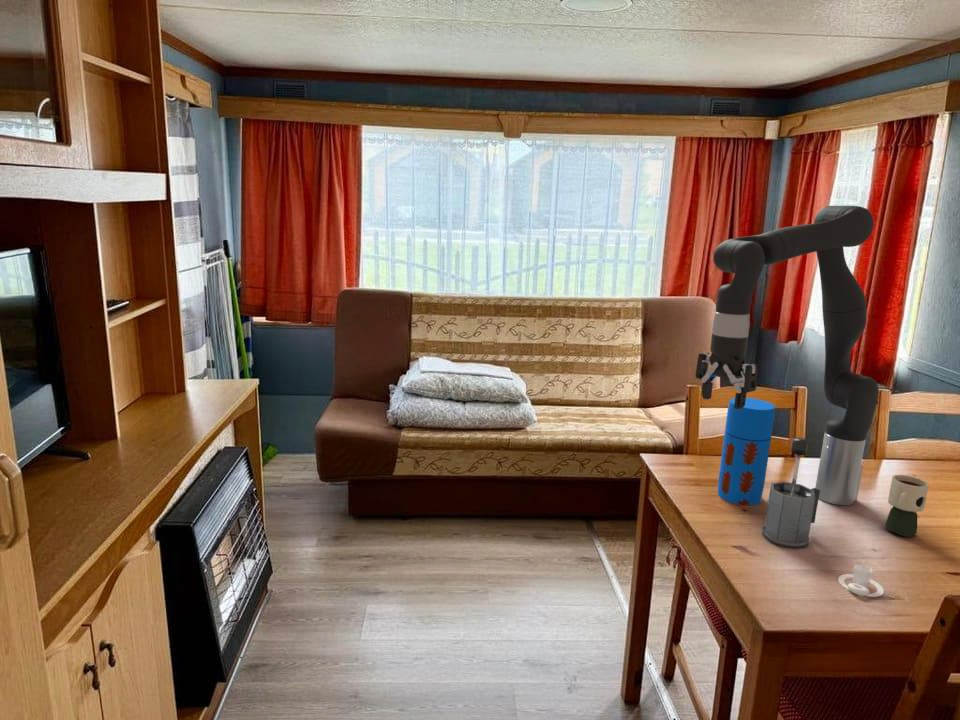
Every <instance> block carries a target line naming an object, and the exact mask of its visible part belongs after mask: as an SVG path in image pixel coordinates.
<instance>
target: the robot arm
mask: <svg viewBox="0 0 960 720" xmlns="http://www.w3.org/2000/svg"><path fill="white" fill-rule="evenodd" d="M874 223H875V222H874V216H873V214H872V213H871V211H870V210H869V209H867V208H865V207H863V206H859V205H858V206H857V205H826V206H823V207H821V208H820V209H819V210H818V212H816V214H815V217H814V220H813V223H808V224H800V225H792V226H785V227H782V228H776V229H774V230H773V229H772V230H770V231H766V232H764V233H761V234H757V235H747V236H740V237H739V236H738V237H735V238H730V239H726V240H723V241H722V242H721V243H720V244H718V246H717V247H716V248H715V250H714V252H713V257H712V259H713V264H714V266H715V267H716V268H717V269H718V270H720V271H721V272H724V273H727V274H728V273H729V274H733V278H732V281H731V282H730V283H726V284H722V285H720V287H719V288H718V290H717V295H716V305H715V313H714V317H713V321H712V329H711V339H710V347H709V350H710V352H701V353H699V354H698V355H697V364H696V370H695V375H694V376H695V378H696V379H699V380H701V382H702V386H701V396H702V399H703V400H711V398H712V396H713V395H712V393H713V384H714V383H713V381H714V379H716V377H718V378H724V379H725V380H729V382H730V383H731V384H732V385H733V386H734V389H735V391H736V392H735V394H734V395H735V396H734V398H735V404H734V408H735V409H742V408H743V407H744V406H745V402H746V398H747V394H748V393H751V392H755V391H757V380H758V379H757V378H758V364H756V363H753V364H749V363H746V362H745V356H746V355H747V350H748V341H749V333H750V324H751V322H750V316H751V315H750V313H751V307H752V297H753V293H754V291H755V288H756V287H757V284H758V281H759V280H760V277H761V275H762V272H763V268H764V266H767V265H773V264H776V263H777V264H778V263H781V262H785V261H787V260H790V259H793V258H794V259H795V258H796V257H799V256H800V257H801V256H804V255H807V254H811V253H816V256H817V263H818V268H819V276H820V277H819V278H820V288H821V299H822V304H821V305H822V321H823V328H824V329H823V330H824V331H823V333H824V357H825V358H824V377H823V391H824V392H823V393H824V397H825V399H826V401H828V402H829V404H831V405H833V406H836V407H838V408H841V409H845V414H844V417H843V418H835V419H829V420H828V421H827V422H826V424H825V429H824V435H823V441H822V445H821V446H822V447H821V453H820V459H819V465H818V471H817V476H816V481H815V487H814V488H817V489H819V490H820V493H819V499H818V500H821V501H823V502H826V503H829V504H833V505H838V506H851V505H853V504H854V503H855V501H857V500H858V497H859V491H860V485H861V480H862V476H863V475H862V473H863V468H864V467H863V465H862V462H863V456H864V449H865V445H866V439H867V435H868V433H869V431H870V429H871V426H872V424H873V420H874V417H875V416H874V415H875V412H876V408H877V405H878V399H879V394H880V392H879V391H880V389H879V385H878V382H877V381H876V380H875V379H873V378H872V377H870V376H865V375H862V374H858V373H856V372H853V371H852V369H851V353H852V350H853V348H854V346H855V345H856V343H857V342H858V341H859V339H860V337H861V336H862V334H863V333H864V331H865V329H866V326H867V301H866V296H865V293H864V291H863V289H862V287H861V285H860V284H859V282H858V281H857V280H856V278H855V277H854V274H853V273H852V272H851V270H850V268H849V266H848V264H847V261H846V258H845V252H844V247H845V248H851V247H856V246H857V247H858V246H860V245H862V244H864V243H865V242H866V241H867V240H868V239H869V238H870V237H871V235H872V233H873V230H874ZM710 353H711V354H710ZM709 364H710V365H711V366H710V368H709Z"/></svg>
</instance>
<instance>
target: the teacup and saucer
mask: <svg viewBox="0 0 960 720" xmlns="http://www.w3.org/2000/svg"><path fill="white" fill-rule="evenodd" d="M872 575H873V569H872V568H871V567H869V566H867V565H865V564H859V563H858V564H855V565H854V567H853V573H845V574H841V575H840V576H838V579H837V581H838V583H839V585H841V586H842V587H843V588H844V589H846V590H848V591H850V592H851V593H853V594H856V595H858V596H864V597H869V598H871V597H873V598H874V597H875V598H877V597H881V596H883V595H884V593H885V589H884V587H883V586H882V585H881V584H880V583H878V582H877V581H876V580H873V579H872ZM849 578H852V581H853V582H850V583H848V584H846V583H845V581H846V579H849ZM870 584H872V585H873V586H875V588H876V591H875V592H873V593H870V590H869V588H868V586H869V585H870Z"/></svg>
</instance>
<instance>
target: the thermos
mask: <svg viewBox="0 0 960 720" xmlns="http://www.w3.org/2000/svg"><path fill="white" fill-rule="evenodd" d="M734 404H735V397H734V398H730V400H729V403H728V405H727V414H726V420H725V427H724V435H723V442H722V449H721V456H720V457H721V459H720V465H719V467H720V468H719V472H718V473H719V474H718V480H717V481H718V483H717V495H718V496H719V498H721V499H722V500H724V501H726V502H728V503H732V504H735V505H740V506H757V505H758V504H760V503H761V501H762V497H763V492H764V488H765V482H766V475H767V469H768V462H769V455H770V450H771V449H770V448H771V441H772V435H773V429H774V423H775V422H774V421H775V415H776V406H775V405H774V404H772V402H769V401H766V400H762V399H759V398H758V399H757V398H750V397H746V402H745V406H744V407H743V408H742V409H735V408H734Z"/></svg>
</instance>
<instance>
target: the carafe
mask: <svg viewBox="0 0 960 720" xmlns="http://www.w3.org/2000/svg"><path fill="white" fill-rule="evenodd" d="M791 486H792V482H790V481H777V482H771V484H770V489H769V496H768V503H767V508H766V509H767V510H766V516H765V522H764V525H763V527H762V533H761V534H762V537H763V538H764V539H765V540H766V541H767V542H769V543H771V544H772V545H775V546H778V547H779V548H784V549H790V550H802V549H805V548H808V546H809V544H810V530H811V526H812V525H811V524H815V521H816V516H817V509H818V505H819V504H818V503H819V500H820V499H819V493H820V490H819V489H817V488H815V487H813V488H809V487H807V486H805V485H803V484H800V483H796V486H795V492H794V493H796V494H799V495H801V496H804V497H805V498H797V497H792V496H786V495H784V494H782V493H780V492H791Z"/></svg>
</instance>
